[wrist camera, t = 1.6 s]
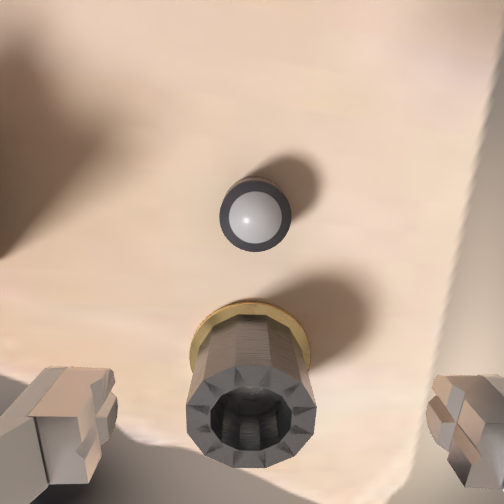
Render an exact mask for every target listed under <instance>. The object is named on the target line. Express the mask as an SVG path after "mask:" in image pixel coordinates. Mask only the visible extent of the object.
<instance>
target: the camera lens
mask: <svg viewBox="0 0 504 504" xmlns="http://www.w3.org/2000/svg"><path fill="white" fill-rule="evenodd" d="M219 218H220V225H221V228H222V231H223V233H224V235H225V236H226V238H227V239H228V240H229V241H230V242H231V243H232V244H233V245H235V246H236V247H238V248H240V249H242V250H245V251H249V252H260V251H265V250H268V249H270V248H272V247H274V246H276V245H277V244H278V243H280V242H281V241H282V240H283V238H284V237H285V236H286V234H287V232H288V230H289V227H290V224H291V209H290V206H289V203H288V201H287V199H286V197H285V196H284V194H283V193H282V192H281V190H280V189H279V188H278V187H277V186H276V185H275V184H274V183H273V182H271V181H269V180H268V179H265V178H261V177H248V178H244V179H242V180H240V181H238V182H236V183H235V184H234V185H233V186H232V187H231V188H230V189H229V190H228V192H227V193H226V195H225V198H224V200H223V203H222V205H221V209H220V216H219Z"/></svg>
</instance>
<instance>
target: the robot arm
mask: <svg viewBox="0 0 504 504" xmlns="http://www.w3.org/2000/svg"><path fill="white" fill-rule="evenodd" d="M114 384H115V379H114V372H113V371H112V370H111V369H108V368H84V367H51V366H50V367H48V368H45V369H44V370H43V371H42V372H41V373H40V374H39V375H38V376H37V377H36V378H35V379H34V381H33V382H32V383H31V384H30V385H29V386H28V387H27V388H26V389H25V391H24V392H23V393H22V394H21V395H20V396H19V397H18V398H17V399H16V401H14V403H13V404H12V405H11V406H10V407H9V408H8V409H7V410H6V411H5V412H4V414H3V415H2V416H1V417H0V504H29V503H31V502H32V501H33V500H34V499H35V498H36V497H37V496H38V495H39V494H41V493H42V492H43V491H44V490H45V489H46V488H47V487H48V484H79V483H80V484H83V483H89V481H90V479H91V477H92V475H93V472H94V470H95V468H96V466H97V464H98V462H99V460H100V457H101V449H100V446H101V445H102V444H103V443H104V442H106V441H107V440H108V439H109V438H110V436H111V434H112V432H113V429H114V426H115V422H116V418H117V409H118V404H117V397H116V396H115V395H114V394H113V393H112V392H111V389H112V387H113V386H114ZM432 389H433V391H434V393H435V395H436V396H435V397H434V398H433V399H431V400H430V401H429V402H428V406H427V411H426V417H427V424H428V427H429V430H430V433H431V434H432V437H433V438H434V440H435V442H436V443H437V444H438V445H440V446H441V447H442V448H444V449H445V450H447V451H448V458H447V460H448V462H449V464H450V465H451V467H452V468H453V470H454V471H455V473H456V475H457V476H458V478H459V479H460V481H461V483H462V484H463V485H464V487H467V488H490V489H503V492H504V377H502V376H499V375H477V376H475V375H474V376H473V375H437V377H436V378H435V379H434V381H433V385H432Z"/></svg>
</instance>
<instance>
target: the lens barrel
mask: <svg viewBox="0 0 504 504" xmlns="http://www.w3.org/2000/svg"><path fill="white" fill-rule="evenodd" d="M310 359H311V353H310V346H309V343H308V339H307V336H306V334H305V332H304V330H303V328H302V327H301V325H300V324H299V322H298V321H297V320H296V319H295V318H294V317H293V316H291V315H290V314H289V313H288V312H286V311H284V310H283V309H281V308H279V307H277V306H274V305H271V304H268V303H263V302H255V301H244V302H238V303H233V304H230V305H227V306H224V307H222V308H220V309H218V310H216V311H215V312H213V313H212V314H210V315H209V316H208V317H207V318H206V319H205V320H204V321H203V322H202V323H201V324H200V326H199V327H198V329H197V331H196V332H195V334H194V337H193V340H192V343H191V348H190V366H191V370H192V373H193V377H192V381H191V385H190V390H189V394H188V398H187V402H186V421H187V433H188V434H189V436H190V437H191V438H192V440H193V441H194V442H195V444H196V445H197V446H198V447H199V449H200V450H201V451H202V453H203V454H204V455H205V456H208V457H210V458H212V459H215V460H217V461H219V462H221V463H224V464H226V465H228V466H230V467H233V468H267V467H269V466H272V465H274V464H276V463H279V462H281V461H284V460H286V459H289V458H291V457H294V456H295V455H296V454H297V453H298V452H299V450H300V449H301V448H302V447H303V446H304V445H305V443H306V442H307V441H308V440H309V439H310V438H311V437H312V435H313V434H314V426H315V417H316V408H317V406H316V403H315V399H314V395H313V391H312V387H311V384H310V380H309V376H308V369H309V366H310Z"/></svg>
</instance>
